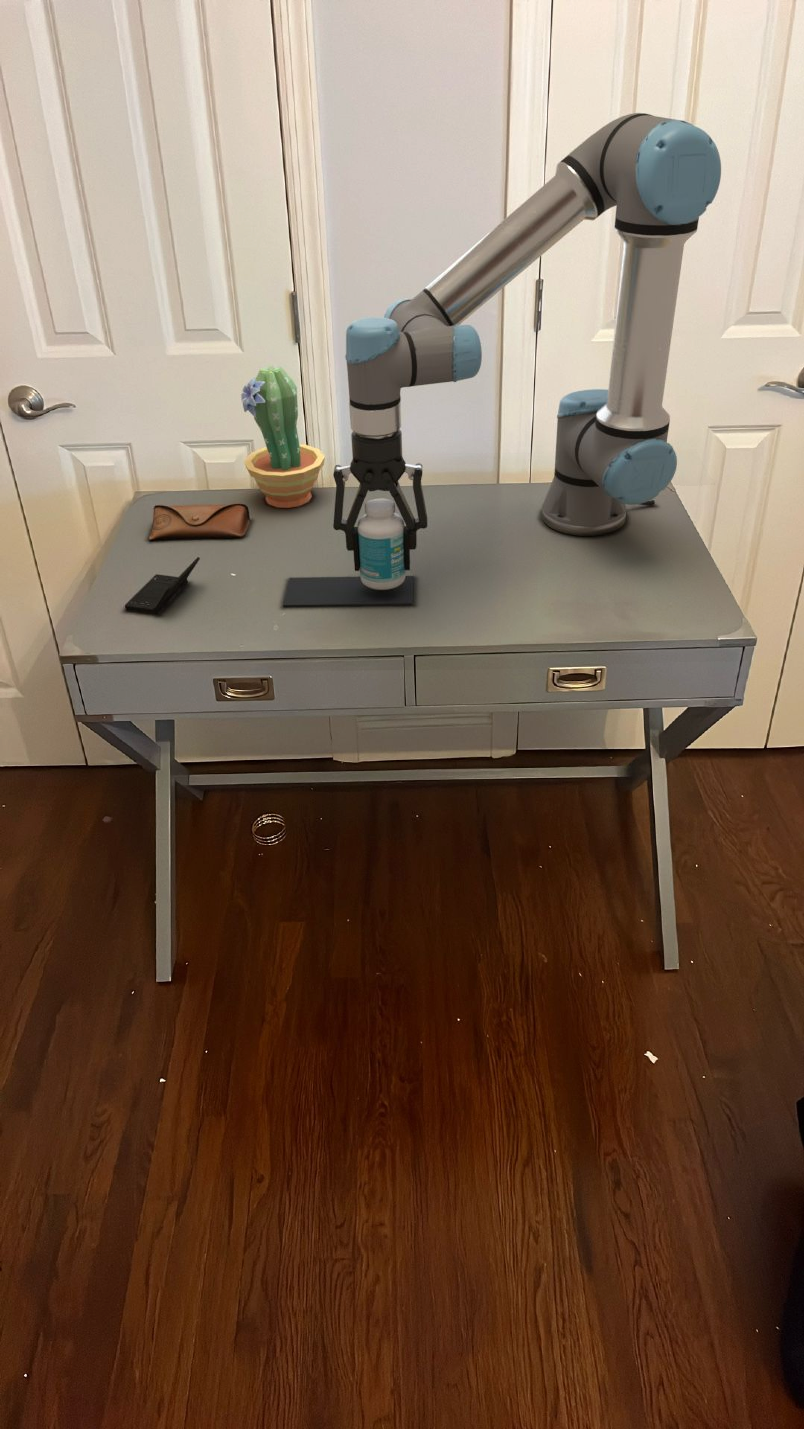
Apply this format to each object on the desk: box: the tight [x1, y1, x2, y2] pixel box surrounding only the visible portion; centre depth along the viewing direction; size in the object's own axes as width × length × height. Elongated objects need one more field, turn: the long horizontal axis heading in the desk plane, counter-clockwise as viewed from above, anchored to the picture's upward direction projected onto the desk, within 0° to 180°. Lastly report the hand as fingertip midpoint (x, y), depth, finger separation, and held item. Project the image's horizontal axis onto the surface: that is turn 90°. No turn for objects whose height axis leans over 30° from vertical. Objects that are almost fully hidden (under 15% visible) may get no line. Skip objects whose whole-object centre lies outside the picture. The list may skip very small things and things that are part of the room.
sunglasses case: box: [148, 502, 251, 541], centre depth 184 cm, size 18×7×7 cm, turn 91°
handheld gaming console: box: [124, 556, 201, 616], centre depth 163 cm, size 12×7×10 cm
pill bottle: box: [356, 497, 407, 590], centre depth 159 cm, size 8×7×14 cm
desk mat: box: [282, 575, 415, 608], centre depth 164 cm, size 21×9×1 cm, turn 88°
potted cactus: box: [240, 365, 326, 509], centre depth 187 cm, size 15×15×25 cm
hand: (382, 566), depth 161 cm, fingers closed on pill bottle, 7 cm apart
